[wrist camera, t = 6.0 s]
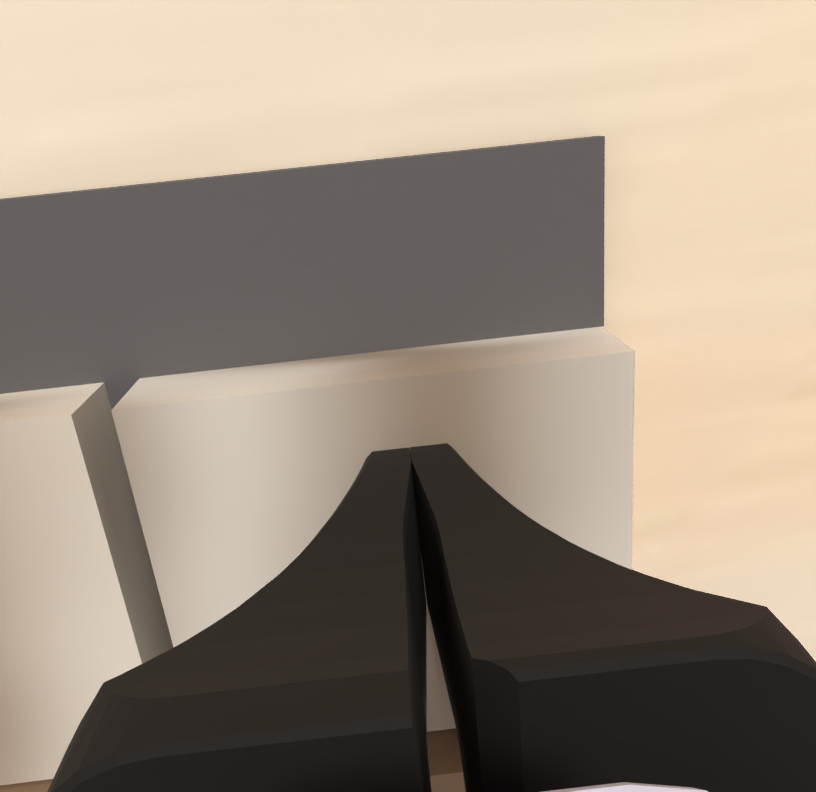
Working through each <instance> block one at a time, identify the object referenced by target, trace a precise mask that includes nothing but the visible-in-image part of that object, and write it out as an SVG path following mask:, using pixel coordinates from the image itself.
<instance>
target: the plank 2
mask: <svg viewBox="0 0 816 792" xmlns="http://www.w3.org/2000/svg"><path fill="white" fill-rule="evenodd" d="M634 362H635V351H634V350H633V349H631V348H630V347H629V346H628V345H626V344H625V343H624V342H623V341H621V340H620V339H619V338H618V337H616V336H615V335H614V334H613V333H612V332H610V331H609V330H608V329H607V328H605V327H604V326H601V327H593V328H584V329H575V330H566V331H557V332H548V333H539V334H530V335H521V336H512V337H503V338H495V339H486V340H477V341H468V342H459V343H450V344H441V345H432V346H423V347H414V348H405V349H397V350H388V351H379V352H370V353H361V354H352V355H343V356H334V357H325V358H316V359H308V360H299V361H290V362H281V363H272V364H263V365H254V366H245V367H236V368H227V369H218V370H210V371H201V372H192V373H183V374H174V375H165V376H156V377H147V378H139V380H138V381H137V382H136V383H135V384H134V385H133V386H132V387H131V389H130V390H129V391H128V392H127V393H126V394H125V395H124V396H123V398H122V399H121V400H120V401H119V402H118V403H117V404H116V406H115V407H114V408H113V409H112V410H111V412H112V416H113V419H114V423H115V427H116V431H117V435H118V438H119V442H120V446H121V450H122V454H123V457H124V461H125V465H126V469H127V473H128V476H129V480H130V484H131V488H132V492H133V495H134V499H135V503H136V507H137V511H138V514H139V518H140V522H141V526H142V530H143V533H144V537H145V541H146V545H147V549H148V552H149V556H150V560H151V564H152V568H153V571H154V575H155V579H156V583H157V587H158V590H159V594H160V598H161V602H162V606H163V609H164V613H165V617H166V621H167V625H168V628H169V632H170V636H171V640H172V644H173V647H176V646H177V645H179V644H181V643H183V642H184V641H186V640H188V639H189V638H191V637H193V636H194V635H196V634H198V633H199V632H201V631H202V630H204V629H206V628H207V627H209V626H211V625H212V624H214V623H215V622H217V621H218V620H220V619H221V618H223V617H224V616H226V615H227V614H229V613H230V612H232V611H233V610H234V609H236V608H237V607H239V606H240V605H241V604H242V603H244V602H245V601H246V600H248V599H249V598H250V597H251V596H253V595H254V594H255V593H256V592H258V591H259V590H260V589H261V588H263V587H264V586H265V585H266V584H268V583H269V582H270V581H271V580H273V579H274V578H275V577H276V576H278V575H279V574H280V573H281V572H282V571H283V570H284V569H285V568H286V567H287V566H288V565H289V564H290V563H291V562H292V561H293V560H295V559H296V558H297V557H298V556H299V555H300V553H301V552H302V551H303V550H304V549H305V548H306V547H307V546H308V545H309V543H310V542H311V541H312V540H313V539H314V537H315V536H316V535H317V533H318V532H319V531H320V530H321V528H322V527H323V526H324V525H325V523H326V522H327V521H328V520H329V518H330V517H331V516H332V514H333V513H334V512H335V510H336V509H337V507H338V506H339V504H340V503H341V501H342V500H343V498H344V497H345V495H346V494H347V492H348V491H349V489H350V487H351V486H352V484H353V482H354V481H355V479H356V477H357V475H358V474H359V472H360V470H361V468H362V466H363V464H364V462H365V460H366V458H367V457H368V456H369V455H370V453H371V452H373V451H382V450H390V449H399V448H408V447H409V449H410V447H417V446H426V445H435V444H444V443H448V444H449V445H450V446H451V447H453V448H454V449H455V450H456V452H457V453H458V454H459V455H460V456H461V457H462V458H463V459H464V461H465V462H466V463H467V464H468V465H469V466H470V467H471V468H472V469H473V470H474V471H475V472H476V473H477V474H478V475H479V476H480V477H481V478H482V479H483V480H484V481H485V482H486V483H488V484H489V485H490V486H491V487H492V488H493V489H494V490H495V491H497V492H498V493H499V494H500V495H501V496H502V497H503V498H505V499H506V500H507V501H508V502H509V503H511V504H512V505H513V506H514V507H516V508H517V509H518V510H520V511H521V512H523V513H524V514H525V515H527V516H528V517H529V518H531V519H532V520H534V521H536V522H537V523H539V524H540V525H542V526H543V527H545V528H547V529H548V530H550V531H552V532H554V533H555V534H557V535H559V536H561V537H562V538H564V539H566V540H567V541H569V542H571V543H573V544H575V545H577V546H579V547H581V548H583V549H585V550H587V551H589V552H591V553H594V554H596V555H598V556H600V557H603V558H605V559H607V560H609V561H612V562H614V563H616V564H618V565H621V566H623V567H626V568H629V569H631V564H632V497H633V429H634ZM410 456H411V453H410ZM411 464H412V462H411ZM412 474H413V472H412ZM413 483H414V481H413ZM414 492H415V490H414ZM415 502H416V500H415ZM416 511H417V509H416ZM417 521H418V518H417ZM418 530H419V528H418ZM419 539H420V537H419ZM420 549H421V546H420ZM421 558H422V556H421ZM422 567H423V565H422ZM423 577H424V573H423ZM424 586H425V582H424ZM425 596H426V590H425ZM426 613H427V732H430V731H438V730H446V729H453V728H456V726H455V721H454V717H453V713H452V708H451V704H450V700H449V696H448V691H447V687H446V683H445V679H444V674H443V670H442V666H441V662H440V657H439V653H438V649H437V645H436V640H435V636H434V632H433V628H432V623H431V619H430V615H429V610H428V606H427V599H426Z"/></svg>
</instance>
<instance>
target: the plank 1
mask: <svg viewBox="0 0 816 792" xmlns="http://www.w3.org/2000/svg"><path fill="white" fill-rule="evenodd" d="M172 648H174V647H173V644H172V640H171V636H170V632H169V628H168V625H167V621H166V617H165V613H164V609H163V606H162V602H161V598H160V594H159V590H158V587H157V583H156V579H155V575H154V571H153V568H152V564H151V560H150V556H149V552H148V549H147V545H146V541H145V537H144V533H143V530H142V526H141V522H140V518H139V514H138V511H137V507H136V503H135V499H134V495H133V492H132V488H131V484H130V480H129V476H128V473H127V469H126V465H125V461H124V457H123V454H122V450H121V446H120V442H119V438H118V435H117V431H116V427H115V423H114V419H113V416H112V412H111V406H110V402H109V398H108V395H107V391H106V387H105V384H104V382H103V383H94V384H85V385H76V386H67V387H58V388H49V389H40V390H31V391H22V392H14V393H5V394H0V785H8V784H16V783H24V782H32V781H40V780H48V779H53V778H54V776H55V774H56V772H57V769H58V767H59V765H60V763H61V761H62V759H63V756H64V754H65V752H66V750H67V748H68V746H69V744H70V742H71V740H72V738H73V736H74V734H75V732H76V730H77V728H78V726H79V724H80V722H81V720H82V718H83V717H84V715H85V713H86V712H87V710H88V708H89V707H90V705H91V703H92V702H93V700H94V698H95V696H96V695H97V693H98V691H99V689H100V688H101V686H102V684H103V683H104V682H106V681H108V680H110V679H112V678H115V677H117V676H119V675H121V674H123V673H125V672H127V671H129V670H131V669H133V668H135V667H137V666H139V665H141V664H143V663H145V662H147V661H149V660H151V659H152V658H154V657H156V656H158V655H160V654H162V653H164V652H166V651H168V650H170V649H172Z"/></svg>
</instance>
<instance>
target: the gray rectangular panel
mask: <svg viewBox="0 0 816 792" xmlns="http://www.w3.org/2000/svg"><path fill="white" fill-rule="evenodd" d="M604 145H605V136H593V137H583V138H574V139H564V140H555V141H545V142H536V143H526V144H517V145H508V146H498V147H489V148H479V149H470V150H460V151H451V152H441V153H432V154H422V155H413V156H403V157H394V158H384V159H375V160H365V161H356V162H346V163H337V164H327V165H318V166H309V167H299V168H290V169H280V170H271V171H261V172H252V173H242V174H233V175H223V176H214V177H204V178H195V179H185V180H176V181H166V182H157V183H147V184H138V185H128V186H119V187H109V188H100V189H91V190H81V191H72V192H62V193H53V194H43V195H34V196H24V197H15V198H5V199H0V394H5V393H14V392H22V391H31V390H40V389H49V388H58V387H67V386H76V385H85V384H94V383H103V382H104V384H105V387H106V391H107V395H108V398H109V402H110V406H111V410H112V409H113V408H114V407H115V406H116V404H117V403H118V402H119V401H120V400H121V399H122V398H123V396H124V395H125V394H126V393H127V392H128V391H129V390H130V389H131V387H132V386H133V385H134V384H135V383H136V382H137V381H138V380H139V378H147V377H156V376H165V375H174V374H183V373H192V372H201V371H210V370H218V369H227V368H236V367H245V366H254V365H263V364H272V363H281V362H290V361H299V360H308V359H316V358H325V357H334V356H343V355H352V354H361V353H370V352H379V351H388V350H397V349H405V348H414V347H423V346H432V345H441V344H450V343H459V342H468V341H477V340H486V339H495V338H503V337H512V336H521V335H530V334H539V333H548V332H557V331H566V330H575V329H584V328H593V327H601V326H604Z"/></svg>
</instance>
